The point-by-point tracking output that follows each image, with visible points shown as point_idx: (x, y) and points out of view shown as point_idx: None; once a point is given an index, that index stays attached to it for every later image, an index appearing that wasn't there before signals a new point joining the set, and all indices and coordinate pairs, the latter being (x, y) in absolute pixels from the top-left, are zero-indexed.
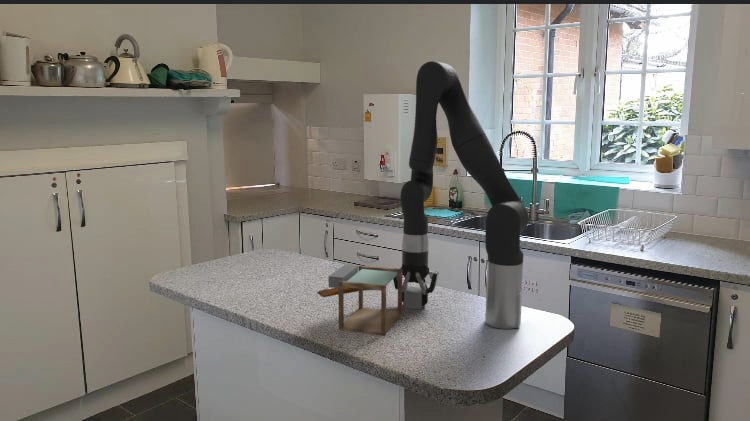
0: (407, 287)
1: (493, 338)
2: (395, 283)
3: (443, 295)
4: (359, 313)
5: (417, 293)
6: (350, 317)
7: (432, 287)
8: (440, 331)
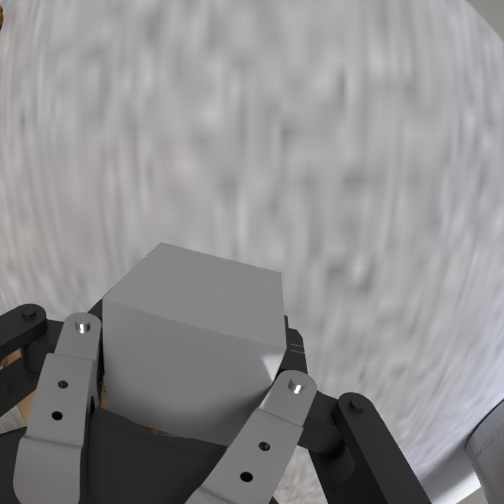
0: (103, 335)
1: (428, 491)
2: (13, 383)
3: (427, 73)
4: (26, 400)
5: (215, 438)
6: (25, 420)
7: (342, 475)
8: (310, 500)
